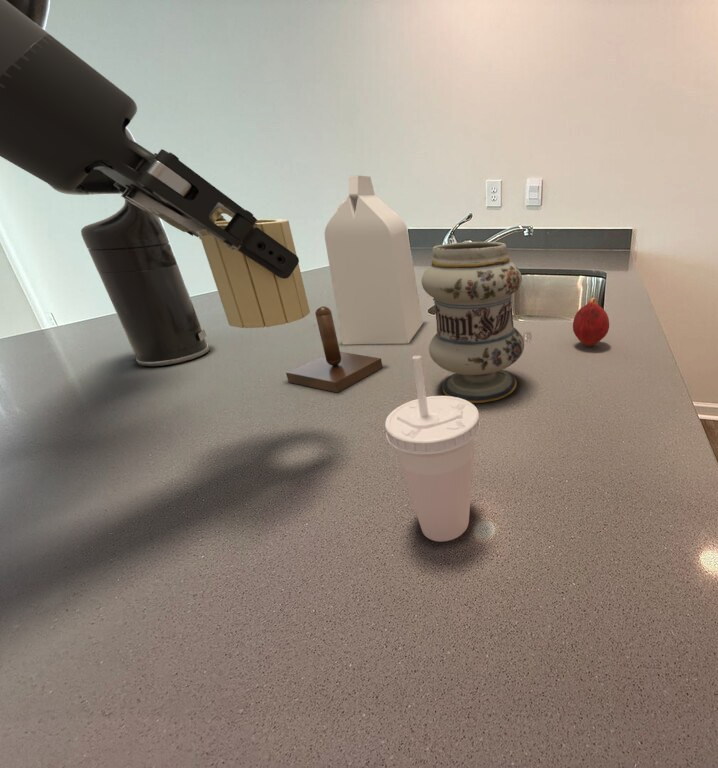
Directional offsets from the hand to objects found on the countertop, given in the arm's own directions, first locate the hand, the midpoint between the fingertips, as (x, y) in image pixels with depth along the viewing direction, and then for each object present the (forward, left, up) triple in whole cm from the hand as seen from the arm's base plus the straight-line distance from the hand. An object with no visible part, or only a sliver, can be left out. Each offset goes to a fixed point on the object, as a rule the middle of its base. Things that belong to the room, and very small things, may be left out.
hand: (276, 264), depth 36 cm
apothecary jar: (+10, +17, -18) cm, 27 cm away
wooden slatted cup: (-1, -2, -4) cm, 5 cm away
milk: (-17, +31, -18) cm, 40 cm away
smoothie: (+19, -6, -18) cm, 27 cm away
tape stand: (-11, +13, -18) cm, 25 cm away
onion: (+20, +37, -18) cm, 46 cm away
